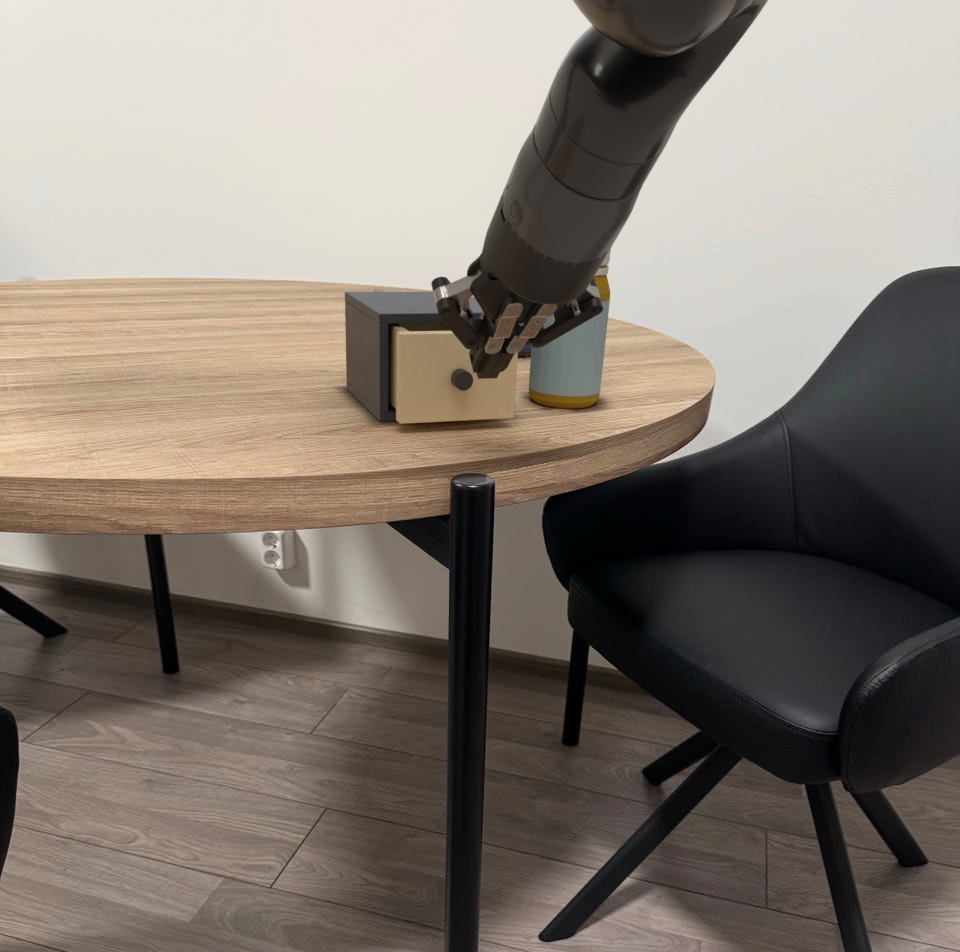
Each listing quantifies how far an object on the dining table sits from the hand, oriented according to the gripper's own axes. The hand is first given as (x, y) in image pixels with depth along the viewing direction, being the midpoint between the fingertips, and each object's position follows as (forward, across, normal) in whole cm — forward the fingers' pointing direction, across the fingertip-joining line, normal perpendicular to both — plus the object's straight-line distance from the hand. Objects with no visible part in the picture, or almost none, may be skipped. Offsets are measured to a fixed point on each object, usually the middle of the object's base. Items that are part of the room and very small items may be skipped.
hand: (483, 368), depth 73 cm
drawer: (+12, 0, -4) cm, 12 cm away
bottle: (+15, -14, -5) cm, 21 cm away
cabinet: (+16, 0, -7) cm, 17 cm away
